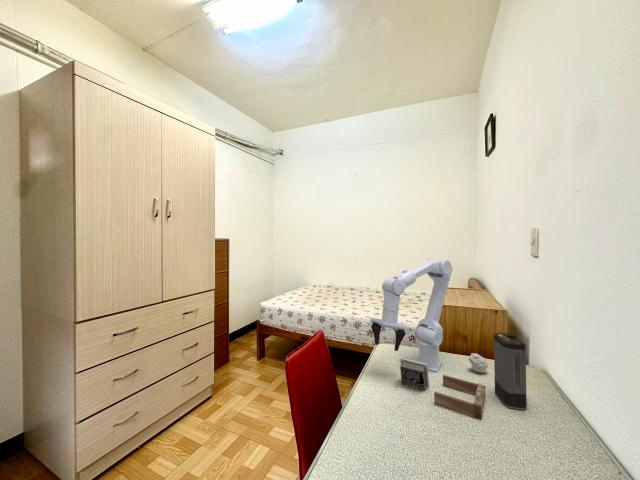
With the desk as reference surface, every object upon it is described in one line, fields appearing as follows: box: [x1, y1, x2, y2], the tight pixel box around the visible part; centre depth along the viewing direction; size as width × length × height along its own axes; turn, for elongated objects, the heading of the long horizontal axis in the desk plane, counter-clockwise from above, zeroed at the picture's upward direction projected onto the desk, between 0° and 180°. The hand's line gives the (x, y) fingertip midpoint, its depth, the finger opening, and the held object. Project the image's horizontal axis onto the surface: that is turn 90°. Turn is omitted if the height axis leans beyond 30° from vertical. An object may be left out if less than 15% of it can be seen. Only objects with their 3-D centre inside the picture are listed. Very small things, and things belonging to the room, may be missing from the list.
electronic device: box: [493, 332, 528, 411], centre depth 83 cm, size 9×6×20 cm, turn 168°
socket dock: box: [433, 374, 486, 421], centre depth 83 cm, size 14×12×6 cm
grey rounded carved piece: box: [467, 352, 489, 374], centre depth 102 cm, size 6×7×7 cm
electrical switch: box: [399, 357, 430, 392], centre depth 91 cm, size 9×5×9 cm, turn 57°
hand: (386, 347), depth 97 cm, fingers open, 7 cm apart
